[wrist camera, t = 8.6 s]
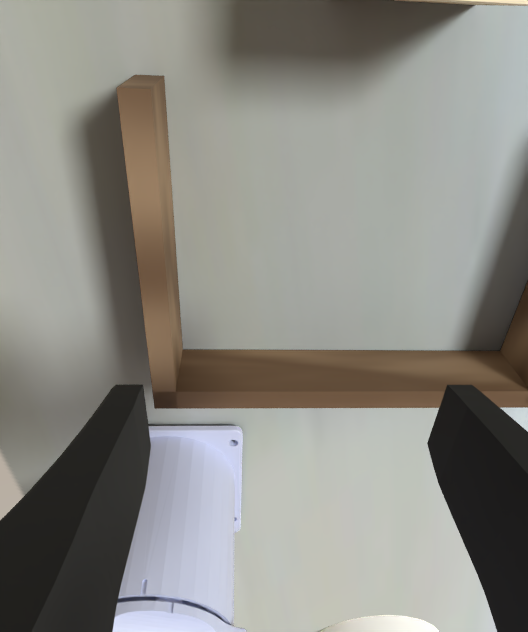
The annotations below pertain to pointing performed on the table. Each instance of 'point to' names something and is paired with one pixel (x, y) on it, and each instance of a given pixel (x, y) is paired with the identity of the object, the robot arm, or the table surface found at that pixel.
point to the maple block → (477, 2)
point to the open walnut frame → (275, 365)
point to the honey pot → (382, 625)
